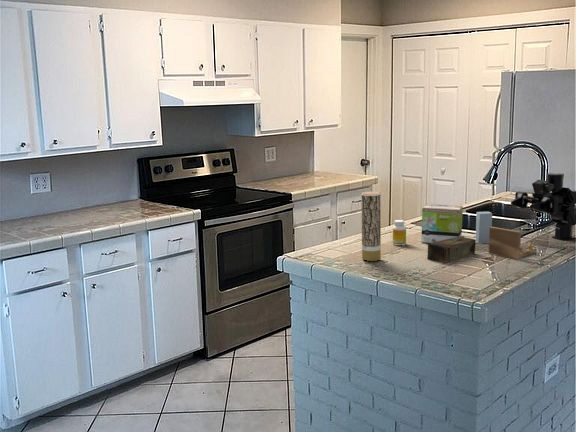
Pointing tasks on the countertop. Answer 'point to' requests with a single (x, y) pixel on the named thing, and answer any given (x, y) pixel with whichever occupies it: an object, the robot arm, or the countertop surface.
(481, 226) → the grey block
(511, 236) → the wooden knob panel
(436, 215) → the tea box
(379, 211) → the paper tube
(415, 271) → the countertop surface
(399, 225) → the supplement bottle
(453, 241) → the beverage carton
